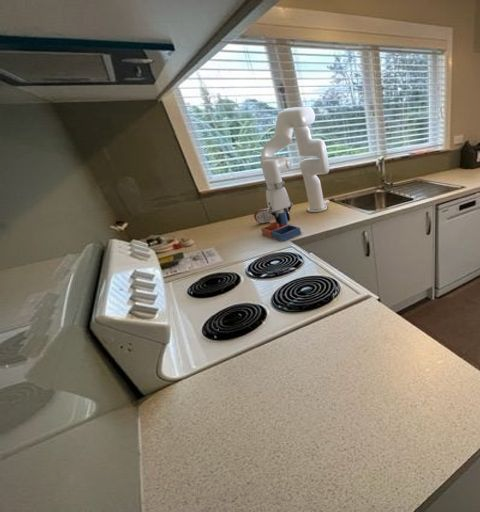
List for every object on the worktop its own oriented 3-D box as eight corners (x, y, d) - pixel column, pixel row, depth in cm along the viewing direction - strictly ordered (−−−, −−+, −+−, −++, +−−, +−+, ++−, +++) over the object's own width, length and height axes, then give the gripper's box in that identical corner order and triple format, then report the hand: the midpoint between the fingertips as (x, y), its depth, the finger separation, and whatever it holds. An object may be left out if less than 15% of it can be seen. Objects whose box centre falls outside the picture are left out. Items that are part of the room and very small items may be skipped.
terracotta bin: (280, 227, 165) (279, 221, 163) (290, 230, 160) (289, 224, 158) (262, 234, 157) (260, 228, 156) (272, 237, 152) (270, 231, 150)
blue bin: (290, 230, 159) (289, 224, 158) (301, 233, 154) (299, 227, 153) (272, 237, 152) (270, 231, 150) (282, 241, 147) (281, 235, 145)
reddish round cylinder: (277, 229, 161) (274, 219, 158) (282, 231, 158) (279, 220, 156) (270, 232, 158) (267, 221, 155) (275, 233, 155) (272, 223, 153)
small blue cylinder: (284, 221, 152) (282, 209, 150) (290, 222, 150) (287, 211, 147) (277, 223, 149) (274, 212, 147) (282, 225, 147) (279, 213, 144)
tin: (281, 218, 180) (278, 204, 176) (283, 219, 177) (279, 206, 174) (256, 224, 173) (252, 210, 169) (257, 225, 171) (253, 211, 167)
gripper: (285, 181, 149) (293, 216, 157) (254, 189, 138) (264, 226, 146) (294, 183, 145) (301, 218, 153) (263, 191, 133) (273, 228, 142)
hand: (283, 221), depth 149 cm, fingers closed on small blue cylinder, 4 cm apart
